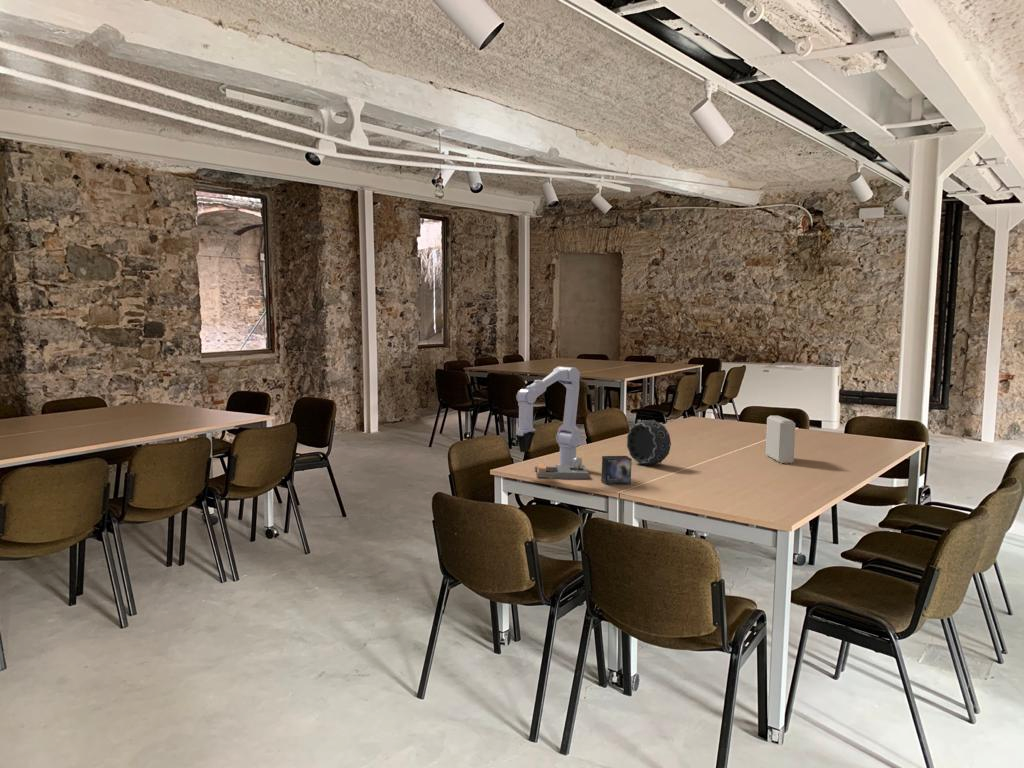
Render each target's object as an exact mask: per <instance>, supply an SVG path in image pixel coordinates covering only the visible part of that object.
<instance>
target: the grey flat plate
mask: <svg viewBox="0 0 1024 768" xmlns="http://www.w3.org/2000/svg"><path fill="white" fill-rule="evenodd" d="M535 471H537V466H534V472H535ZM546 471H548V472H546V473H538V472H536V475H535V476H536V478H537V477H552V478H551V479H559V478H560V480H589V475H590V472H589V471H588V469H587V468H586V466H585V465H584V464H582V470H573V465H558V464H556V465H555V466H546ZM549 471H550V472H549Z"/></svg>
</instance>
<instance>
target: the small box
mask: <svg viewBox="0 0 1024 768" xmlns="http://www.w3.org/2000/svg"><path fill="white" fill-rule="evenodd" d="M601 458H602V459H601V478H600V482H601V481H602V482H601V483H603V484H604V483H605V484H604V485H606V484H618V485H631V484H632V481H631V480H632V461H633V458H632V457H630V456H628V455H602V456H601Z"/></svg>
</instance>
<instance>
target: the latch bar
mask: <svg viewBox="0 0 1024 768" xmlns="http://www.w3.org/2000/svg"><path fill="white" fill-rule="evenodd" d="M536 467H537V472H538V473H547V472H546V467H547V466H546V464H545V463H537V465H536ZM537 472H536V473H537Z"/></svg>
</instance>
